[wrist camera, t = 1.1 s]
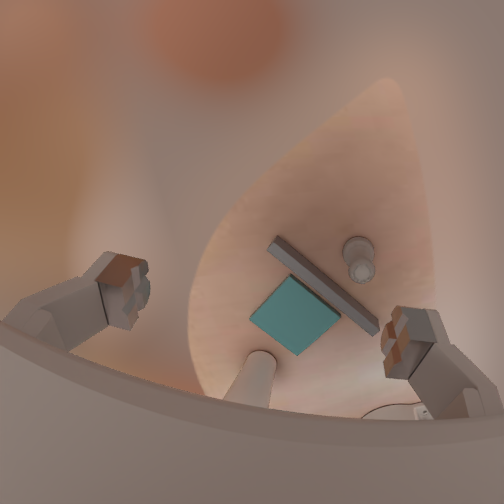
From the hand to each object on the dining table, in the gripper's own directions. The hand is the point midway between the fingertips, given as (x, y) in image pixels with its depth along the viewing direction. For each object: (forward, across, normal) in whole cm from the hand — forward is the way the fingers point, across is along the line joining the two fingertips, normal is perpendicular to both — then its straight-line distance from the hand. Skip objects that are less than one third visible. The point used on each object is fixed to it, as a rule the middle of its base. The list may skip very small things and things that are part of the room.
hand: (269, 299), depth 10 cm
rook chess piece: (+30, +11, -15) cm, 36 cm away
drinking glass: (+27, +1, -37) cm, 46 cm away
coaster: (+29, +5, -27) cm, 39 cm away
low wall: (+29, +8, -20) cm, 37 cm away
